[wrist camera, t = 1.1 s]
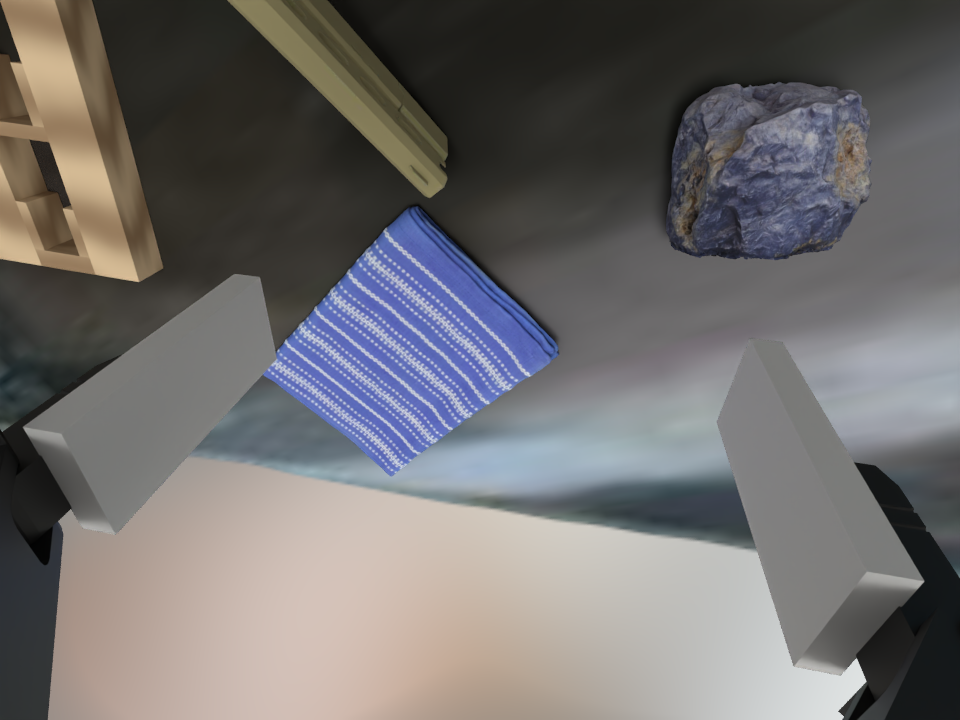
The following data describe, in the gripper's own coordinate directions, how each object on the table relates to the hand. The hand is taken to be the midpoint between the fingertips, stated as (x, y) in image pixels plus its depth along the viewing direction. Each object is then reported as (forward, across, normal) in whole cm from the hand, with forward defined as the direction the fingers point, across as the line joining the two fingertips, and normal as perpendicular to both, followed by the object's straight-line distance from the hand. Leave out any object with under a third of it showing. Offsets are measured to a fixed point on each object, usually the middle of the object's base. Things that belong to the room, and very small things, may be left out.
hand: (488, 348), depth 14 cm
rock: (+26, +13, +1) cm, 29 cm away
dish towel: (+26, -11, -18) cm, 34 cm away
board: (+25, -38, 0) cm, 46 cm away
